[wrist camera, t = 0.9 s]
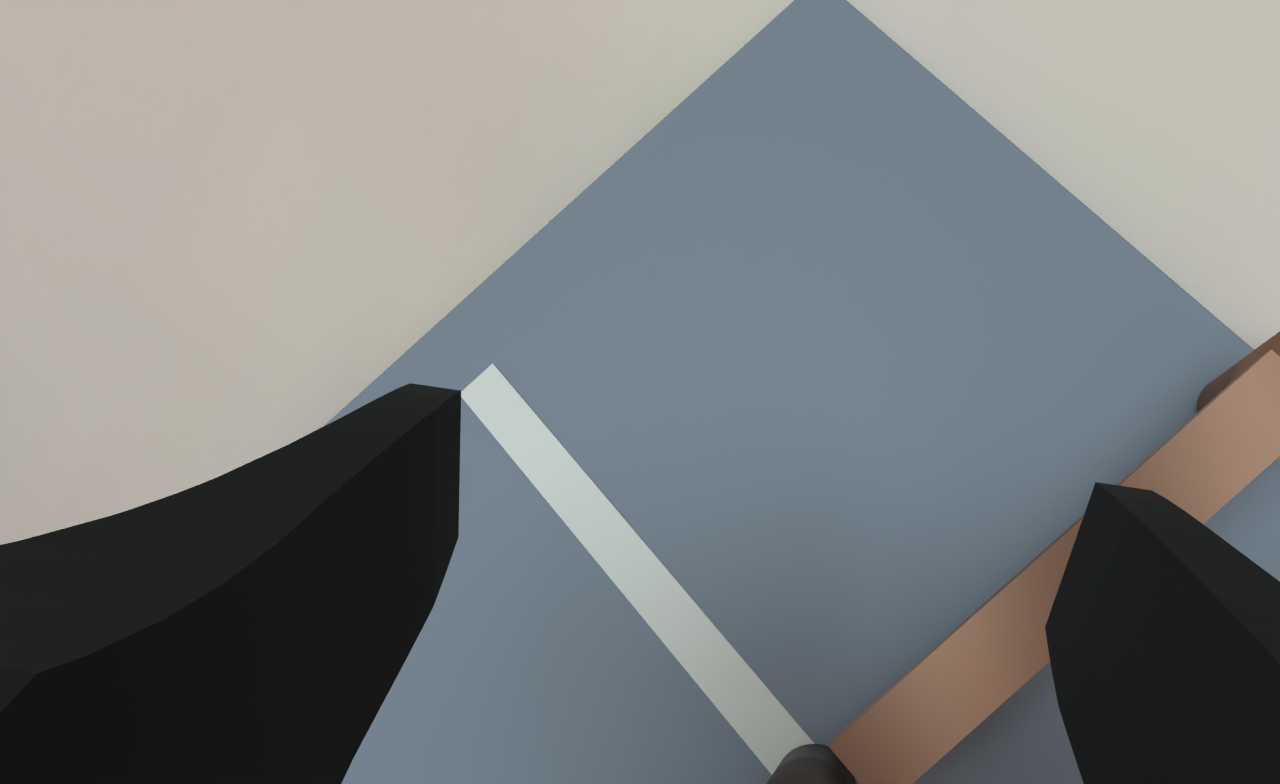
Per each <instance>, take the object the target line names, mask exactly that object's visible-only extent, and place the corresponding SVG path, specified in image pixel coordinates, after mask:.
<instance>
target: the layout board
mask: <svg viewBox="0 0 1280 784" xmlns="http://www.w3.org/2000/svg"><path fill="white" fill-rule="evenodd" d="M1252 351H1254V350H1253V349H1252V348H1251V347H1250V346H1249V345H1248V344H1246V343H1245V342H1244V341H1243V340H1242V339H1241V338H1239V337H1238V336H1237V335H1236V334H1235V333H1234V332H1232V331H1231V330H1230V329H1229V328H1228V327H1227V326H1225V325H1224V324H1223V323H1222V322H1221V321H1220V320H1218V319H1217V318H1216V317H1215V316H1214V315H1213V314H1211V313H1210V312H1209V311H1208V310H1207V309H1206V308H1204V307H1203V306H1202V305H1201V304H1200V303H1199V302H1197V301H1196V300H1195V299H1194V298H1193V297H1192V296H1190V295H1189V294H1188V293H1187V292H1186V291H1185V290H1183V289H1182V288H1181V287H1180V286H1179V285H1178V284H1176V283H1175V282H1174V281H1173V280H1172V279H1171V278H1169V277H1168V276H1167V275H1166V274H1165V273H1164V272H1162V271H1161V270H1160V269H1159V268H1158V267H1157V266H1155V265H1154V264H1153V263H1152V262H1151V261H1150V260H1148V259H1147V258H1146V257H1145V256H1144V255H1143V254H1141V253H1140V252H1139V251H1138V250H1137V249H1136V248H1134V247H1133V246H1132V245H1131V244H1130V243H1129V242H1127V241H1126V240H1125V239H1124V238H1123V237H1122V236H1120V235H1119V234H1118V233H1117V232H1116V231H1115V230H1113V229H1112V228H1111V227H1110V226H1109V225H1108V224H1106V223H1105V222H1104V221H1103V220H1102V219H1101V218H1099V217H1098V216H1097V215H1096V214H1095V213H1094V212H1092V211H1091V210H1090V209H1089V208H1088V207H1087V206H1085V205H1084V204H1083V203H1082V202H1081V201H1080V200H1078V199H1077V198H1076V197H1075V196H1074V195H1073V194H1071V193H1070V192H1069V191H1068V190H1067V189H1066V188H1064V187H1063V186H1062V185H1061V184H1060V183H1059V182H1057V181H1056V180H1055V179H1054V178H1053V177H1052V176H1050V175H1049V174H1048V173H1047V172H1046V171H1045V170H1043V169H1042V168H1041V167H1040V166H1039V165H1038V164H1036V163H1035V162H1034V161H1033V160H1032V159H1031V158H1030V157H1028V156H1027V155H1026V154H1025V153H1024V152H1023V151H1021V150H1020V149H1019V148H1018V147H1017V146H1016V145H1014V144H1013V143H1012V142H1011V141H1010V140H1009V139H1007V138H1006V137H1005V136H1004V135H1003V134H1002V133H1000V132H999V131H998V130H997V129H996V128H995V127H993V126H992V125H991V124H990V123H989V122H988V121H986V120H985V119H984V118H983V117H982V116H981V115H979V114H978V113H977V112H976V111H975V110H974V109H972V108H971V107H970V106H969V105H968V104H967V103H965V102H964V101H963V100H962V99H961V98H960V97H958V96H957V95H956V94H955V93H954V92H953V91H951V90H950V89H949V88H948V87H947V86H946V85H944V84H943V83H942V82H941V81H940V80H939V79H937V78H936V77H935V76H934V75H933V74H932V73H930V72H929V71H928V70H927V69H926V68H925V67H923V66H922V65H921V64H920V63H919V62H918V61H916V60H915V59H914V58H913V57H912V56H911V55H909V54H908V53H907V52H906V51H905V50H904V49H902V48H901V47H900V46H899V45H898V44H897V43H895V42H894V41H893V40H892V39H891V38H890V37H888V36H887V35H886V34H885V33H884V32H883V31H881V30H880V29H879V28H878V27H877V26H876V25H874V24H873V23H872V22H871V21H870V20H869V19H867V18H866V17H865V16H864V15H863V14H862V13H860V12H859V11H858V10H857V9H856V8H855V7H853V6H852V5H851V4H850V3H849V2H848V1H846V0H794V1H793V2H792V3H791V4H790V5H789V6H788V7H787V8H785V9H784V10H783V11H782V12H781V13H780V14H779V15H778V16H777V17H776V18H774V19H773V20H772V21H771V22H770V23H769V24H768V25H767V26H766V27H765V28H763V29H762V30H761V31H760V32H759V33H758V34H757V35H756V36H755V37H753V38H752V39H751V40H750V41H749V42H748V43H747V44H746V45H745V46H744V47H742V48H741V49H740V50H739V51H738V52H737V53H736V54H735V55H734V56H732V57H731V58H730V59H729V60H728V61H727V62H726V63H725V64H724V65H723V66H721V67H720V68H719V69H718V70H717V71H716V72H715V73H714V74H713V75H711V76H710V77H709V78H708V79H707V80H706V81H705V82H704V83H703V84H702V85H700V86H699V87H698V88H697V89H696V90H695V91H694V92H693V93H692V94H690V95H689V96H688V97H687V98H686V99H685V100H684V101H683V102H682V103H681V104H679V105H678V106H677V107H676V108H675V109H674V110H673V111H672V112H671V113H669V114H668V115H667V116H666V117H665V118H664V119H663V120H662V121H661V122H660V123H658V124H657V125H656V126H655V127H654V128H653V129H652V130H651V131H650V132H648V133H647V134H646V135H645V136H644V137H643V138H642V139H641V140H640V141H639V142H637V143H636V144H635V145H634V146H633V147H632V148H631V149H630V150H629V151H627V152H626V153H625V154H624V155H623V156H622V157H621V158H620V159H619V160H618V161H616V162H615V163H614V164H613V165H612V166H611V167H610V168H609V169H608V170H606V171H605V172H604V173H603V174H602V175H601V176H600V177H599V178H598V179H597V180H595V181H594V182H593V183H592V184H591V185H590V186H589V187H588V188H587V189H585V190H584V191H583V192H582V193H581V194H580V195H579V196H578V197H577V198H576V199H574V200H573V201H572V202H571V203H570V204H569V205H568V206H567V207H566V208H564V209H563V210H562V211H561V212H560V213H559V214H558V215H557V216H556V217H555V218H553V219H552V220H551V221H550V222H549V223H548V224H547V225H546V226H545V227H543V228H542V229H541V230H540V231H539V232H538V233H537V234H536V235H535V236H534V237H532V238H531V239H530V240H529V241H528V242H527V243H526V244H525V245H524V246H522V247H521V248H520V249H519V250H518V251H517V252H516V253H515V254H514V255H513V256H511V257H510V258H509V259H508V260H507V261H506V262H505V263H504V264H503V265H501V266H500V267H499V268H498V269H497V270H496V271H495V272H494V273H493V274H492V275H490V276H489V277H488V278H487V279H486V280H485V281H484V282H483V283H482V284H480V285H479V286H478V287H477V288H476V289H475V290H474V291H473V292H472V293H471V294H469V295H468V296H467V297H466V298H465V299H464V300H463V301H462V302H461V303H459V304H458V305H457V306H456V307H455V308H454V309H453V310H452V311H451V312H450V313H448V314H447V315H446V316H445V317H444V318H443V319H442V320H441V321H440V322H438V323H437V324H436V325H435V326H434V327H433V328H432V329H431V330H430V331H429V332H427V333H426V334H425V335H424V336H423V337H422V338H421V339H420V340H419V341H418V342H416V343H415V344H414V345H413V346H412V347H411V348H410V349H409V350H408V351H406V352H405V353H404V354H403V355H402V356H401V357H400V358H399V359H398V360H397V361H395V362H394V363H393V364H392V365H391V366H390V367H389V368H388V369H387V370H385V371H384V372H383V373H382V374H381V375H380V376H379V377H378V378H377V379H376V380H374V381H373V382H372V383H371V384H370V385H369V386H368V387H367V388H366V389H364V390H363V391H362V392H361V393H360V394H359V395H358V396H357V397H356V398H355V399H353V400H352V401H351V402H350V403H349V404H348V405H347V406H346V407H345V408H343V409H342V410H341V411H340V412H339V413H338V414H337V415H336V416H335V417H334V418H332V419H331V420H330V421H329V422H328V423H327V424H326V425H328V424H330V423H332V422H333V421H335V420H337V419H339V418H341V417H343V416H345V415H347V414H349V413H351V412H353V411H354V410H356V409H358V408H360V407H362V406H364V405H366V404H368V403H370V402H371V401H373V400H375V399H377V398H379V397H381V396H383V395H385V394H387V393H389V392H391V391H393V390H395V389H397V388H400V387H402V386H405V385H407V384H410V383H412V384H419V385H426V386H433V387H440V388H447V389H454V390H461V432H460V484H459V537H458V540H457V543H456V546H455V548H454V551H453V554H452V557H451V560H450V563H449V566H448V569H447V572H446V574H445V577H444V580H443V583H442V585H441V588H440V591H439V593H438V596H437V599H436V601H435V604H434V607H433V609H432V611H431V612H430V614H429V616H428V618H427V620H426V622H425V624H424V626H423V628H422V630H421V632H420V634H419V636H418V638H417V640H416V642H415V643H414V645H413V647H412V649H411V651H410V653H409V655H408V657H407V659H406V661H405V663H404V664H403V666H402V668H401V670H400V672H399V674H398V676H397V678H396V679H395V681H394V683H393V685H392V687H391V689H390V691H389V693H388V694H387V696H386V698H385V700H384V702H383V704H382V706H381V708H380V709H379V711H378V713H377V715H376V717H375V719H374V721H373V723H372V724H371V726H370V728H369V730H368V732H367V734H366V736H365V738H364V739H363V741H362V743H361V745H360V747H359V749H358V751H357V753H356V754H355V756H354V758H353V760H352V762H351V764H350V767H349V769H348V771H347V773H346V775H345V777H344V779H343V781H342V783H341V784H766V783H767V782H768V780H769V779H770V777H771V776H772V774H773V773H774V771H775V770H776V768H777V767H778V765H779V764H780V762H781V761H782V760H783V758H784V757H785V756H786V755H787V754H788V753H789V752H790V751H792V750H793V749H795V748H797V747H799V746H802V745H806V744H822V745H825V746H828V745H829V742H830V741H831V740H832V739H834V738H835V737H836V736H837V735H838V734H839V733H840V732H841V731H842V730H843V729H844V728H846V727H847V726H848V725H849V724H850V723H851V722H852V721H853V720H854V719H856V718H857V717H858V716H859V715H860V714H861V713H862V712H863V711H865V710H866V709H867V708H868V707H869V706H870V705H871V704H872V703H873V702H875V701H876V700H877V699H878V698H879V697H880V696H881V695H882V694H884V693H885V692H886V691H887V690H888V689H889V688H890V687H891V686H892V685H894V684H895V683H896V682H897V681H898V680H899V679H900V678H901V677H903V676H904V675H905V674H906V673H907V672H908V671H909V670H910V669H911V668H913V667H914V666H915V665H916V664H917V663H918V662H919V661H920V660H922V659H923V658H924V657H925V656H926V655H927V654H928V653H929V652H930V651H932V650H933V649H934V648H935V647H936V646H937V645H938V644H939V643H940V642H942V641H943V640H944V639H945V638H946V637H947V636H948V635H949V634H951V633H952V632H953V631H954V630H955V629H956V628H957V627H958V626H959V625H961V624H962V623H963V622H964V621H965V620H966V619H967V618H968V617H970V616H971V615H972V614H973V613H974V612H975V611H976V610H977V609H978V608H980V607H981V606H982V605H983V604H984V603H985V602H986V601H987V600H989V599H990V598H991V597H992V596H993V595H994V594H995V593H996V592H997V591H999V590H1000V589H1001V588H1002V587H1003V586H1004V585H1005V584H1006V583H1008V582H1009V581H1010V580H1011V579H1012V578H1013V577H1014V576H1015V575H1016V574H1018V573H1019V572H1020V571H1021V570H1022V569H1023V568H1024V567H1025V566H1027V565H1028V564H1029V563H1030V562H1031V561H1032V560H1033V559H1034V558H1035V557H1037V556H1038V555H1039V554H1040V553H1041V552H1042V551H1043V550H1044V549H1046V548H1047V547H1048V546H1049V545H1050V544H1051V543H1052V542H1053V541H1054V540H1056V539H1057V538H1058V537H1059V536H1060V535H1061V534H1062V533H1063V532H1065V531H1066V530H1067V529H1068V528H1069V527H1070V526H1071V525H1072V524H1073V523H1075V522H1076V521H1077V520H1078V519H1079V518H1080V517H1081V516H1082V515H1083V514H1085V511H1086V508H1087V505H1088V502H1089V499H1090V496H1091V494H1092V491H1093V488H1094V485H1095V482H1098V483H1105V484H1112V485H1117V484H1118V483H1119V482H1120V481H1121V480H1123V479H1124V478H1125V477H1126V476H1127V475H1128V474H1129V473H1130V472H1132V471H1133V470H1134V469H1135V468H1136V467H1137V466H1138V465H1139V464H1140V463H1142V462H1143V461H1144V460H1145V459H1146V458H1147V457H1148V456H1149V455H1151V454H1152V453H1153V452H1154V451H1155V450H1156V449H1157V448H1158V447H1159V446H1161V445H1162V444H1163V443H1164V442H1165V441H1166V440H1167V439H1168V438H1170V437H1171V436H1172V435H1173V434H1174V433H1175V432H1176V431H1177V430H1178V429H1180V428H1181V427H1182V426H1183V425H1184V424H1185V423H1186V422H1187V421H1189V420H1190V419H1191V418H1192V417H1193V416H1194V415H1195V414H1196V413H1197V402H1198V398H1199V395H1200V394H1201V392H1202V390H1203V389H1204V388H1205V386H1206V385H1207V384H1209V383H1210V382H1211V381H1213V380H1214V379H1215V378H1217V377H1218V376H1219V375H1221V374H1222V373H1224V372H1225V371H1226V370H1228V369H1229V368H1230V367H1232V366H1233V365H1235V364H1236V363H1237V362H1239V361H1240V360H1241V359H1243V358H1244V357H1246V356H1247V355H1248V354H1250V353H1251V352H1252ZM326 425H325V426H326ZM1204 525H1205V526H1206V527H1208V528H1209V529H1210V530H1212V531H1213V532H1214V533H1216V534H1217V535H1218V536H1220V537H1221V538H1222V539H1224V540H1225V541H1226V542H1228V543H1229V544H1230V545H1232V546H1233V547H1234V548H1236V549H1237V550H1238V551H1240V552H1241V553H1242V554H1244V555H1245V556H1246V557H1248V558H1249V559H1250V560H1252V561H1253V562H1254V563H1256V564H1257V565H1258V566H1260V567H1261V568H1262V569H1264V570H1265V571H1266V572H1268V573H1269V574H1270V575H1272V576H1273V577H1274V578H1276V579H1277V580H1278V581H1280V456H1279V457H1278V458H1277V459H1276V460H1275V461H1273V462H1272V463H1271V464H1270V465H1269V466H1268V467H1267V468H1266V469H1264V470H1263V471H1262V472H1261V473H1260V474H1259V475H1258V476H1257V477H1255V478H1254V479H1253V480H1252V481H1251V482H1250V483H1249V484H1248V485H1247V486H1245V487H1244V488H1243V489H1242V490H1241V491H1240V492H1239V493H1238V494H1236V495H1235V496H1234V497H1233V498H1232V499H1231V500H1230V501H1229V502H1228V503H1226V504H1225V505H1224V506H1223V507H1222V508H1221V509H1220V510H1219V511H1217V512H1216V513H1215V514H1214V515H1213V516H1212V517H1211V518H1210V519H1208V520H1207V521H1206V522H1205V523H1204ZM828 747H829V746H828ZM855 783H856V784H860V783H859V782H858V781H857V779H856V778H855ZM913 784H1084V783H1083V780H1082V777H1081V774H1080V772H1079V769H1078V765H1077V762H1076V759H1075V756H1074V753H1073V750H1072V747H1071V744H1070V741H1069V738H1068V735H1067V732H1066V729H1065V726H1064V722H1063V719H1062V716H1061V713H1060V710H1059V706H1058V701H1057V696H1056V691H1055V686H1054V680H1053V675H1052V670H1051V663H1050V662H1048V663H1047V664H1046V665H1045V666H1044V667H1043V668H1042V669H1041V670H1040V671H1038V672H1037V673H1036V674H1035V675H1034V676H1033V677H1032V678H1031V679H1029V680H1028V681H1027V682H1026V683H1025V684H1024V685H1023V686H1022V687H1020V688H1019V689H1018V690H1017V691H1016V692H1015V693H1014V694H1013V695H1012V696H1010V697H1009V698H1008V699H1007V700H1006V701H1005V702H1004V703H1003V704H1001V705H1000V706H999V707H998V708H997V709H996V710H995V711H994V712H993V713H991V714H990V715H989V716H988V717H987V718H986V719H985V720H984V721H982V722H981V723H980V724H979V725H978V726H977V727H976V728H975V729H973V730H972V731H971V732H970V733H969V734H968V735H967V736H966V737H965V738H963V739H962V740H961V741H960V742H959V743H958V744H957V745H956V746H954V747H953V748H952V749H951V750H950V751H949V752H948V753H947V754H946V755H944V756H943V757H942V758H941V759H940V760H939V761H938V762H937V763H935V764H934V765H933V766H932V767H931V768H930V769H929V770H928V771H926V772H925V773H924V774H923V775H922V776H921V777H920V778H919V779H918V780H916V781H915V782H914V783H913Z"/></svg>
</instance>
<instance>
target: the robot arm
mask: <svg viewBox="0 0 1280 784" xmlns="http://www.w3.org/2000/svg"><path fill="white" fill-rule="evenodd" d="M460 432H461V390H454V389H447V388H440V387H433V386H426V385H419V384H412V383H410V384H407V385H405V386H402V387H400V388H397V389H395V390H393V391H391V392H389V393H387V394H385V395H383V396H381V397H379V398H377V399H375V400H373V401H371V402H370V403H368V404H366V405H364V406H362V407H360V408H358V409H356V410H354V411H353V412H351V413H349V414H347V415H345V416H343V417H341V418H339V419H337V420H335V421H333V422H332V423H330V424H328V425H326V426H324V427H322V428H320V429H318V430H316V431H314V432H312V433H310V434H308V435H306V436H305V437H303V438H301V439H299V440H297V441H295V442H293V443H291V444H289V445H287V446H285V447H282V448H280V449H278V450H276V451H274V452H272V453H269V454H267V455H265V456H263V457H261V458H258V459H256V460H254V461H252V462H250V463H248V464H245V465H243V466H241V467H239V468H237V469H235V470H232V471H230V472H228V473H226V474H224V475H222V476H219V477H217V478H215V479H212V480H210V481H207V482H205V483H202V484H200V485H197V486H195V487H192V488H190V489H187V490H184V491H182V492H179V493H177V494H174V495H171V496H168V497H165V498H163V499H160V500H157V501H154V502H151V503H148V504H145V505H143V506H140V507H137V508H134V509H131V510H128V511H125V512H122V513H119V514H115V515H112V516H109V517H105V518H101V519H98V520H94V521H90V522H87V523H83V524H80V525H76V526H72V527H69V528H65V529H61V530H58V531H54V532H50V533H47V534H43V535H40V536H36V537H32V538H29V539H25V540H21V541H16V542H12V543H8V544H3V545H0V784H341V783H342V781H343V779H344V777H345V775H346V773H347V771H348V769H349V767H350V764H351V762H352V760H353V758H354V756H355V754H356V753H357V751H358V749H359V747H360V745H361V743H362V741H363V739H364V738H365V736H366V734H367V732H368V730H369V728H370V726H371V724H372V723H373V721H374V719H375V717H376V715H377V713H378V711H379V709H380V708H381V706H382V704H383V702H384V700H385V698H386V696H387V694H388V693H389V691H390V689H391V687H392V685H393V683H394V681H395V679H396V678H397V676H398V674H399V672H400V670H401V668H402V666H403V664H404V663H405V661H406V659H407V657H408V655H409V653H410V651H411V649H412V647H413V645H414V643H415V642H416V640H417V638H418V636H419V634H420V632H421V630H422V628H423V626H424V624H425V622H426V620H427V618H428V616H429V614H430V612H431V611H432V609H433V607H434V604H435V601H436V599H437V596H438V593H439V591H440V588H441V585H442V583H443V580H444V577H445V574H446V572H447V569H448V566H449V563H450V560H451V557H452V554H453V551H454V548H455V546H456V543H457V540H458V537H459V484H460ZM1045 631H1046V637H1047V644H1048V650H1049V657H1050V663H1051V670H1052V675H1053V680H1054V686H1055V691H1056V696H1057V701H1058V706H1059V710H1060V713H1061V716H1062V719H1063V722H1064V726H1065V729H1066V732H1067V735H1068V738H1069V741H1070V744H1071V747H1072V750H1073V753H1074V756H1075V759H1076V762H1077V765H1078V769H1079V772H1080V774H1081V777H1082V780H1083V783H1084V784H1280V581H1278V580H1277V579H1276V578H1274V577H1273V576H1272V575H1270V574H1269V573H1268V572H1266V571H1265V570H1264V569H1262V568H1261V567H1260V566H1258V565H1257V564H1256V563H1254V562H1253V561H1252V560H1250V559H1249V558H1248V557H1246V556H1245V555H1244V554H1242V553H1241V552H1240V551H1238V550H1237V549H1236V548H1234V547H1233V546H1232V545H1230V544H1229V543H1228V542H1226V541H1225V540H1224V539H1222V538H1221V537H1220V536H1218V535H1217V534H1216V533H1214V532H1213V531H1212V530H1210V529H1209V528H1208V527H1206V526H1205V525H1204V524H1202V523H1201V522H1199V521H1198V520H1197V519H1195V518H1194V517H1193V516H1191V515H1190V514H1188V513H1187V512H1186V511H1184V510H1183V509H1181V508H1180V507H1178V506H1177V505H1175V504H1174V503H1172V502H1171V501H1169V500H1168V499H1166V498H1164V497H1163V496H1161V495H1159V494H1158V493H1156V492H1154V491H1152V490H1146V489H1139V488H1132V487H1126V486H1119V485H1112V484H1105V483H1098V482H1095V485H1094V488H1093V491H1092V494H1091V496H1090V499H1089V502H1088V505H1087V508H1086V511H1085V514H1084V517H1083V519H1082V522H1081V525H1080V528H1079V531H1078V534H1077V537H1076V540H1075V542H1074V545H1073V548H1072V551H1071V554H1070V557H1069V560H1068V563H1067V565H1066V568H1065V571H1064V574H1063V577H1062V580H1061V583H1060V586H1059V588H1058V591H1057V594H1056V597H1055V600H1054V603H1053V606H1052V608H1051V611H1050V614H1049V617H1048V620H1047V623H1046V626H1045Z"/></svg>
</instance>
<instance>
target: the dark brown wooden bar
mask: <svg viewBox="0 0 1280 784" xmlns="http://www.w3.org/2000/svg"><path fill="white" fill-rule="evenodd" d="M766 784H856V783H855V777H854V776H853V775H852V773H851V772H850V771H849V770H848V769H847V768H846V766H845V765H844V764H843V763H842V762H841V761H840V759H839V758H838V757H837V756H836V755H835V753H834V752H833V751H832V750H831V749H830V748H829V747H828V746H825V745H822V744H806V745H802V746H799V747H797V748H795V749H793V750H792V751H790V752H789V753H788V754H787V755H786V756H785V757H784V758H783V760H782V761H781V762H780V764H779V765H778V767H777V768H776V770H775V771H774V773H773V774H772V776H771V777H770V779H769V780H768V782H767V783H766Z"/></svg>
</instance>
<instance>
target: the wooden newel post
mask: <svg viewBox="0 0 1280 784" xmlns="http://www.w3.org/2000/svg"><path fill="white" fill-rule="evenodd" d="M1279 456H1280V332H1279V333H1277V334H1276V335H1274V336H1273V337H1272V338H1270V339H1269V340H1268V341H1266V342H1265V343H1263V344H1262V345H1261V346H1259V347H1258V348H1257V349H1255V350H1254V351H1252V352H1251V353H1250V354H1248V355H1247V356H1246V357H1244V358H1243V359H1241V360H1240V361H1239V362H1237V363H1236V364H1235V365H1233V366H1232V367H1230V368H1229V369H1228V370H1226V371H1225V372H1224V373H1222V374H1221V375H1219V376H1218V377H1217V378H1215V379H1214V380H1213V381H1211V382H1210V383H1209V384H1207V385H1206V386H1205V388H1204V389H1203V390H1202V392H1201V394H1200V395H1199V398H1198V402H1197V413H1196V414H1195V415H1194V416H1193V417H1192V418H1191V419H1190V420H1189V421H1187V422H1186V423H1185V424H1184V425H1183V426H1182V427H1181V428H1180V429H1178V430H1177V431H1176V432H1175V433H1174V434H1173V435H1172V436H1171V437H1170V438H1168V439H1167V440H1166V441H1165V442H1164V443H1163V444H1162V445H1161V446H1159V447H1158V448H1157V449H1156V450H1155V451H1154V452H1153V453H1152V454H1151V455H1149V456H1148V457H1147V458H1146V459H1145V460H1144V461H1143V462H1142V463H1140V464H1139V465H1138V466H1137V467H1136V468H1135V469H1134V470H1133V471H1132V472H1130V473H1129V474H1128V475H1127V476H1126V477H1125V478H1124V479H1123V480H1121V481H1120V482H1119V483H1118V484H1117V485H1119V486H1126V487H1132V488H1139V489H1146V490H1152V491H1154V492H1156V493H1158V494H1159V495H1161V496H1163V497H1164V498H1166V499H1168V500H1169V501H1171V502H1172V503H1174V504H1175V505H1177V506H1178V507H1180V508H1181V509H1183V510H1184V511H1186V512H1187V513H1188V514H1190V515H1191V516H1193V517H1194V518H1195V519H1197V520H1198V521H1199V522H1201V523H1202V524H1204V523H1205V522H1206V521H1207V520H1208V519H1210V518H1211V517H1212V516H1213V515H1214V514H1215V513H1216V512H1217V511H1219V510H1220V509H1221V508H1222V507H1223V506H1224V505H1225V504H1226V503H1228V502H1229V501H1230V500H1231V499H1232V498H1233V497H1234V496H1235V495H1236V494H1238V493H1239V492H1240V491H1241V490H1242V489H1243V488H1244V487H1245V486H1247V485H1248V484H1249V483H1250V482H1251V481H1252V480H1253V479H1254V478H1255V477H1257V476H1258V475H1259V474H1260V473H1261V472H1262V471H1263V470H1264V469H1266V468H1267V467H1268V466H1269V465H1270V464H1271V463H1272V462H1273V461H1275V460H1276V459H1277V458H1278V457H1279ZM1083 517H1084V514H1083V515H1082V516H1081V517H1080V518H1079V519H1078V520H1077V521H1076V522H1075V523H1073V524H1072V525H1071V526H1070V527H1069V528H1068V529H1067V530H1066V531H1065V532H1063V533H1062V534H1061V535H1060V536H1059V537H1058V538H1057V539H1056V540H1054V541H1053V542H1052V543H1051V544H1050V545H1049V546H1048V547H1047V548H1046V549H1044V550H1043V551H1042V552H1041V553H1040V554H1039V555H1038V556H1037V557H1035V558H1034V559H1033V560H1032V561H1031V562H1030V563H1029V564H1028V565H1027V566H1025V567H1024V568H1023V569H1022V570H1021V571H1020V572H1019V573H1018V574H1016V575H1015V576H1014V577H1013V578H1012V579H1011V580H1010V581H1009V582H1008V583H1006V584H1005V585H1004V586H1003V587H1002V588H1001V589H1000V590H999V591H997V592H996V593H995V594H994V595H993V596H992V597H991V598H990V599H989V600H987V601H986V602H985V603H984V604H983V605H982V606H981V607H980V608H978V609H977V610H976V611H975V612H974V613H973V614H972V615H971V616H970V617H968V618H967V619H966V620H965V621H964V622H963V623H962V624H961V625H959V626H958V627H957V628H956V629H955V630H954V631H953V632H952V633H951V634H949V635H948V636H947V637H946V638H945V639H944V640H943V641H942V642H940V643H939V644H938V645H937V646H936V647H935V648H934V649H933V650H932V651H930V652H929V653H928V654H927V655H926V656H925V657H924V658H923V659H922V660H920V661H919V662H918V663H917V664H916V665H915V666H914V667H913V668H911V669H910V670H909V671H908V672H907V673H906V674H905V675H904V676H903V677H901V678H900V679H899V680H898V681H897V682H896V683H895V684H894V685H892V686H891V687H890V688H889V689H888V690H887V691H886V692H885V693H884V694H882V695H881V696H880V697H879V698H878V699H877V700H876V701H875V702H873V703H872V704H871V705H870V706H869V707H868V708H867V709H866V710H865V711H863V712H862V713H861V714H860V715H859V716H858V717H857V718H856V719H854V720H853V721H852V722H851V723H850V724H849V725H848V726H847V727H846V728H844V729H843V730H842V731H841V732H840V733H839V734H838V735H837V736H836V737H835V738H834V739H832V740H831V741H830V742H829V745H828V746H829V748H830V749H831V750H832V751H833V752H834V753H835V755H836V756H837V757H838V758H839V759H840V761H841V762H842V763H843V764H844V765H845V766H846V768H847V769H848V770H849V771H850V772H851V773H852V775H853V776H854V777H855V778H856V779H857V781H858V782H859V783H860V784H913V783H914V782H915V781H916V780H918V779H919V778H920V777H921V776H922V775H923V774H924V773H925V772H926V771H928V770H929V769H930V768H931V767H932V766H933V765H934V764H935V763H937V762H938V761H939V760H940V759H941V758H942V757H943V756H944V755H946V754H947V753H948V752H949V751H950V750H951V749H952V748H953V747H954V746H956V745H957V744H958V743H959V742H960V741H961V740H962V739H963V738H965V737H966V736H967V735H968V734H969V733H970V732H971V731H972V730H973V729H975V728H976V727H977V726H978V725H979V724H980V723H981V722H982V721H984V720H985V719H986V718H987V717H988V716H989V715H990V714H991V713H993V712H994V711H995V710H996V709H997V708H998V707H999V706H1000V705H1001V704H1003V703H1004V702H1005V701H1006V700H1007V699H1008V698H1009V697H1010V696H1012V695H1013V694H1014V693H1015V692H1016V691H1017V690H1018V689H1019V688H1020V687H1022V686H1023V685H1024V684H1025V683H1026V682H1027V681H1028V680H1029V679H1031V678H1032V677H1033V676H1034V675H1035V674H1036V673H1037V672H1038V671H1040V670H1041V669H1042V668H1043V667H1044V666H1045V665H1046V664H1047V663H1048V662H1050V657H1049V650H1048V644H1047V637H1046V631H1045V626H1046V623H1047V620H1048V617H1049V614H1050V611H1051V608H1052V606H1053V603H1054V600H1055V597H1056V594H1057V591H1058V588H1059V586H1060V583H1061V580H1062V577H1063V574H1064V571H1065V568H1066V565H1067V563H1068V560H1069V557H1070V554H1071V551H1072V548H1073V545H1074V542H1075V540H1076V537H1077V534H1078V531H1079V528H1080V525H1081V522H1082V519H1083Z"/></svg>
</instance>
